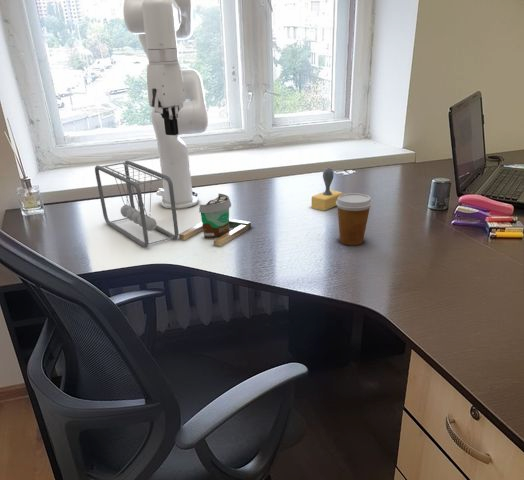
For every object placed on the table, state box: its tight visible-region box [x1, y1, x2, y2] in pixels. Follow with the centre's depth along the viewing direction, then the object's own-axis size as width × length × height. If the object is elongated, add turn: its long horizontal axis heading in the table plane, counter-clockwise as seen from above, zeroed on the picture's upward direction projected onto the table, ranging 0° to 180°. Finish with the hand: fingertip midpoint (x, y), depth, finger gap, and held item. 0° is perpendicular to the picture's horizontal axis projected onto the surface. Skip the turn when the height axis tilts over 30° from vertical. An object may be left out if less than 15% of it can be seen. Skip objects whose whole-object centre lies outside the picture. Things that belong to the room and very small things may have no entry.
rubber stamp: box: [311, 167, 344, 212], centre depth 170 cm, size 10×6×12 cm, turn 137°
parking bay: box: [178, 218, 252, 248], centre depth 154 cm, size 14×17×2 cm
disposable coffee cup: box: [336, 192, 373, 246], centre depth 142 cm, size 10×10×12 cm
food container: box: [198, 193, 232, 239], centre depth 151 cm, size 12×6×10 cm, turn 156°
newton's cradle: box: [94, 159, 180, 248], centre depth 153 cm, size 30×10×18 cm, turn 36°
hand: (172, 134), depth 142 cm, fingers closed
